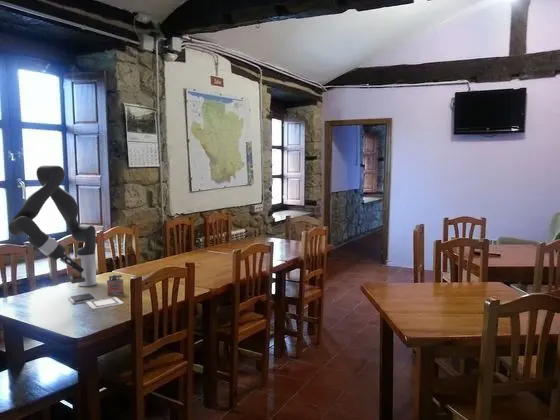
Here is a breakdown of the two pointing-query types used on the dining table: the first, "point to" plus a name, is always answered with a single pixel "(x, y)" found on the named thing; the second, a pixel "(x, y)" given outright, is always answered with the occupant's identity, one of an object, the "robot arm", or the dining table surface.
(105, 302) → the marked board
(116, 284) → the lighter
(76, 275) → the stamp
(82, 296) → the ink pad
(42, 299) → the dining table surface
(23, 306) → the dining table surface
